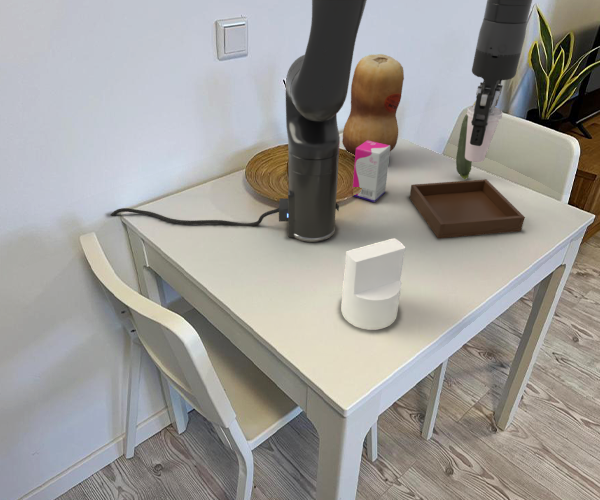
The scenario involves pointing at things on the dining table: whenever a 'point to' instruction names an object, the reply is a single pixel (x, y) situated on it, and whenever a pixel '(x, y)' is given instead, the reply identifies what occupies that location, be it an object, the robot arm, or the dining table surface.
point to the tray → (465, 208)
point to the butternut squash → (374, 102)
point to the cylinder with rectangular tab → (372, 284)
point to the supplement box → (371, 170)
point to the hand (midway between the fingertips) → (478, 138)
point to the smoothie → (480, 152)
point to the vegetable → (463, 151)
